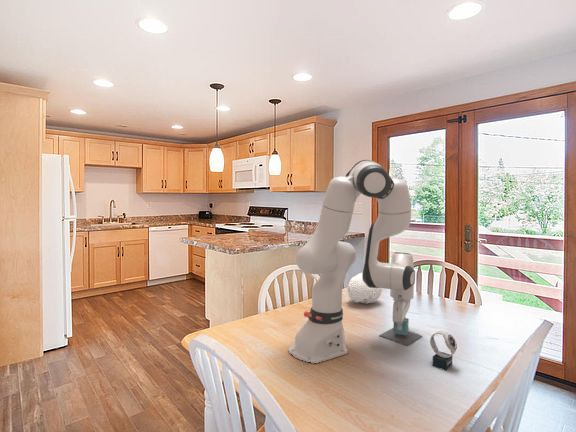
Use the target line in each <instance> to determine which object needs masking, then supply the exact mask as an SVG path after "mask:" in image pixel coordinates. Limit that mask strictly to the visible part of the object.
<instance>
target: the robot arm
mask: <svg viewBox="0 0 576 432" xmlns="http://www.w3.org/2000/svg"><path fill="white" fill-rule="evenodd" d="M328 183H329V184H328V186H327V188H326V191H325V194H324V198H323V201H322V206H321V209H320V210H321V211H320V216H319V219H318V223H317V226H316V228H315V230H314V232H313V234H312V235H311V237H310V238H309V240H308V241H307V242H306V243H305V244H304V245H303V246H302V247H300V248H299V249H298V251H297V252H296V253H297V254H296V258H295V259H296V261H295V262H296V264H297V265H296V266H297V267H298V269H299V271H301V272H302V273H303V274H308V275H319V278H318V280H317V281H316V282H315V283H314V284H313V286H312V288H311V308H310V311H307V310H306V311H305V310H304V312H303V316H304V317H305V318H308V319H307V321H306V322H305V323H304V324H303V326H301V328H300V329H299V331H298V332H296V335H295V339H294V343H293V344H292V345H291V346H289V347H288V349H287V351H289V352H288V354H290V355H291V354H292V355H293V356H292V355H291V356H292V357H294V358H296V359H298V360H300V361H302V360H303V361H302V362H305V361H306V362H305V363H308V362H311V363H310V364H314V363H316V364H318V363H319V362H320V363H323V362H326V361H328V360H332V359H335V358H338V357H341V356H344V355H347V354H348V353H349V352H348V349H347V345H346V339H345V338H346V337H345V336H346V335H345V328H344V325H343V318H344V317H343V316H344V311H343V308H342V307H343V306H342V305H343V299H342V298H343V288H344V284H345V280H346V278H347V275H348V272H349V271H350V269H351V268H352V267H353V265H354V264H355V263H356V260H357V251H356V249H355V246H354V245H353V244H351V243H349V242H347V241H341V239H342V238H343V237H344V236H346V235H347V234H348V232H349V230H350V227H351V223H352V217H353V213H354V209H355V205H356V204H355V203H356V202H357V199H358V198H359V196H361V194H362V195H363V196H365V197H368V198H375V199H376V200H377V203H378V205H377V206H378V209H377V211H378V212H377V213H378V214H377V217H376V218H377V219H376V220H375V222H373V223H371V225H370V227H369V230H368V236H367V242H366V249H365V250H366V251H365V257H364V259H365V260H364V265H363V269H362V272H361V273H362V278H363V281H364V283H365V284H366V285H367V286H368V287H370V288H382V289H387V290H389V296H390V297H391V298H392V300H393V304H392V322H393V323H394V322H396V323H397V329H398V330H402V328H403V325H402V323H403V320H404V318H407V317H406V316H407V313H408V312H409V309H410V306H411V300H412V299H414V293H415V291H414V290H415V289H414V287H415V282H416V271H415V264H414V257H413V254H411V253H410V252H399V251H396V252H393V253H392V254H391V255H392V256H391V261H390V262H380V261H379V260H378V255H379V249H380V242H381V241H383V240H385V239H388V238H391V237H394V236H397V235H399V234H401V233H403V232H404V231H406V230H408V228H409V227H410V224H411V219H412V203H411V196H410V191H409V187H408V184H407V183H406V182H405V181H404V180H403V179H401V178H396V177H395V178H391V176H390V174H389V172H388V171H387V170H386V169H385V168H384V167H383V166H382V165H381V164H379V163H378V162H376V161H373V160H371V159H363V160H360V161H358V162H357V163H355V164H354V165H353V167H351V169H350V170H349V171H348V172H346V175H345V176H341V175H339V176H336V177H333V178H332V179H331V180H330V181H329V182H328ZM322 361H323V362H322Z"/></svg>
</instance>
